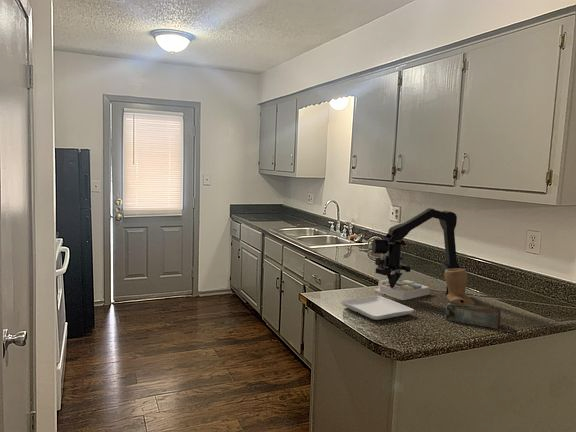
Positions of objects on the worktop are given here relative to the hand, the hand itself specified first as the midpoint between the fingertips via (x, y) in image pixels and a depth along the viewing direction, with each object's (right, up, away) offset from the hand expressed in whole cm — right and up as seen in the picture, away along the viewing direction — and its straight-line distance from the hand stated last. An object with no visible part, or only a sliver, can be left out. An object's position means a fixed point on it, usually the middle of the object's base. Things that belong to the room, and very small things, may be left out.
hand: (391, 287), depth 211 cm
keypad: (+5, -3, +3) cm, 7 cm away
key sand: (+6, -1, -3) cm, 7 cm away
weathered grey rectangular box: (+23, -8, -34) cm, 42 cm away
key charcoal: (+5, 0, +4) cm, 6 cm away
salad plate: (-13, -6, -29) cm, 32 cm away
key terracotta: (0, -2, 0) cm, 2 cm away
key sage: (+9, 0, +8) cm, 12 cm away
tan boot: (+27, -6, -8) cm, 29 cm away
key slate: (+11, -1, +1) cm, 11 cm away
